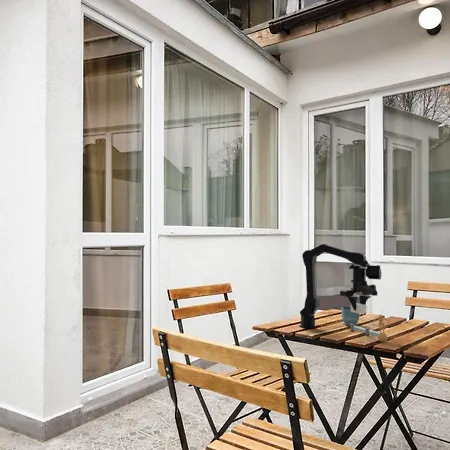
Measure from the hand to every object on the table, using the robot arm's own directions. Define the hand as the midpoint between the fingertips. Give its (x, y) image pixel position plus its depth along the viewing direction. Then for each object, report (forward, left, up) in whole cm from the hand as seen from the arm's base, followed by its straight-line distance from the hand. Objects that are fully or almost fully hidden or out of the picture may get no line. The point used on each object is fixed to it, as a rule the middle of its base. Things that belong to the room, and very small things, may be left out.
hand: (358, 310), depth 229 cm
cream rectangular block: (0, 0, -1) cm, 1 cm away
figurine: (-2, -19, -11) cm, 22 cm away
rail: (+3, 0, -11) cm, 12 cm away
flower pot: (+11, +20, -11) cm, 26 cm away
